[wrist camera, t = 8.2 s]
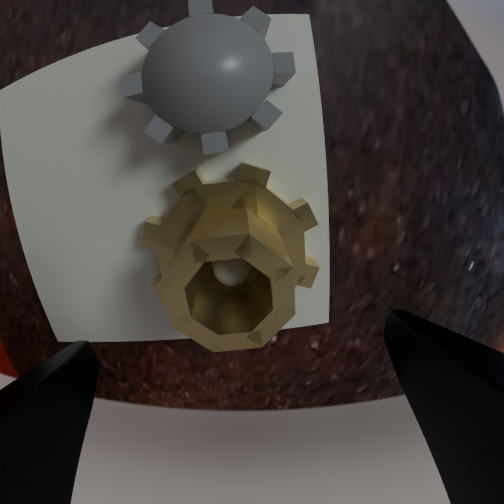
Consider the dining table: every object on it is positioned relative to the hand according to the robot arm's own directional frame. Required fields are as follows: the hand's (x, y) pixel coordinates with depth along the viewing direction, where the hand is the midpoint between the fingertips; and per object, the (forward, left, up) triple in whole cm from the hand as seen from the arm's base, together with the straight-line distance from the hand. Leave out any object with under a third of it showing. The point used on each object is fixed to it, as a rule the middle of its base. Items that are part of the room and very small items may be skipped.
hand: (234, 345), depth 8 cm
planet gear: (0, 0, -8) cm, 8 cm away
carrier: (-4, +3, -9) cm, 11 cm away
